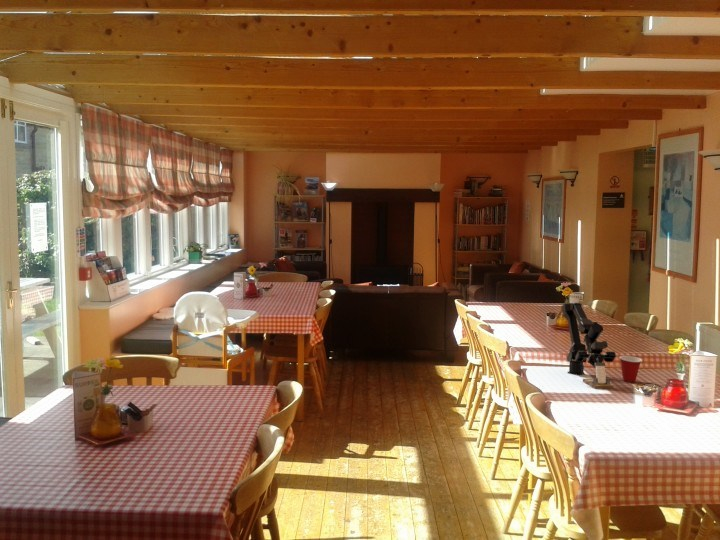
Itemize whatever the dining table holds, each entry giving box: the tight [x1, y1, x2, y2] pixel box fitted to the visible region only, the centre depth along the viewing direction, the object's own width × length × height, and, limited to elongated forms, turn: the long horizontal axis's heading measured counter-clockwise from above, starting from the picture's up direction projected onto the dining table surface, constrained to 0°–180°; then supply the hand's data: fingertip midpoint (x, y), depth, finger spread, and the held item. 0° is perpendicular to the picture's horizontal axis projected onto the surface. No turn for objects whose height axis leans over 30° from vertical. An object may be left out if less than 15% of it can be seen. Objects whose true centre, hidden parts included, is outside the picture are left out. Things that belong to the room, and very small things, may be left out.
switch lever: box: [594, 362, 607, 383], centre depth 347 cm, size 2×5×10 cm, turn 94°
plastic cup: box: [618, 355, 643, 383], centre depth 361 cm, size 11×11×12 cm
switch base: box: [582, 377, 614, 390], centre depth 350 cm, size 16×9×4 cm, turn 4°
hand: (599, 371), depth 348 cm, fingers closed, pressing on switch lever
